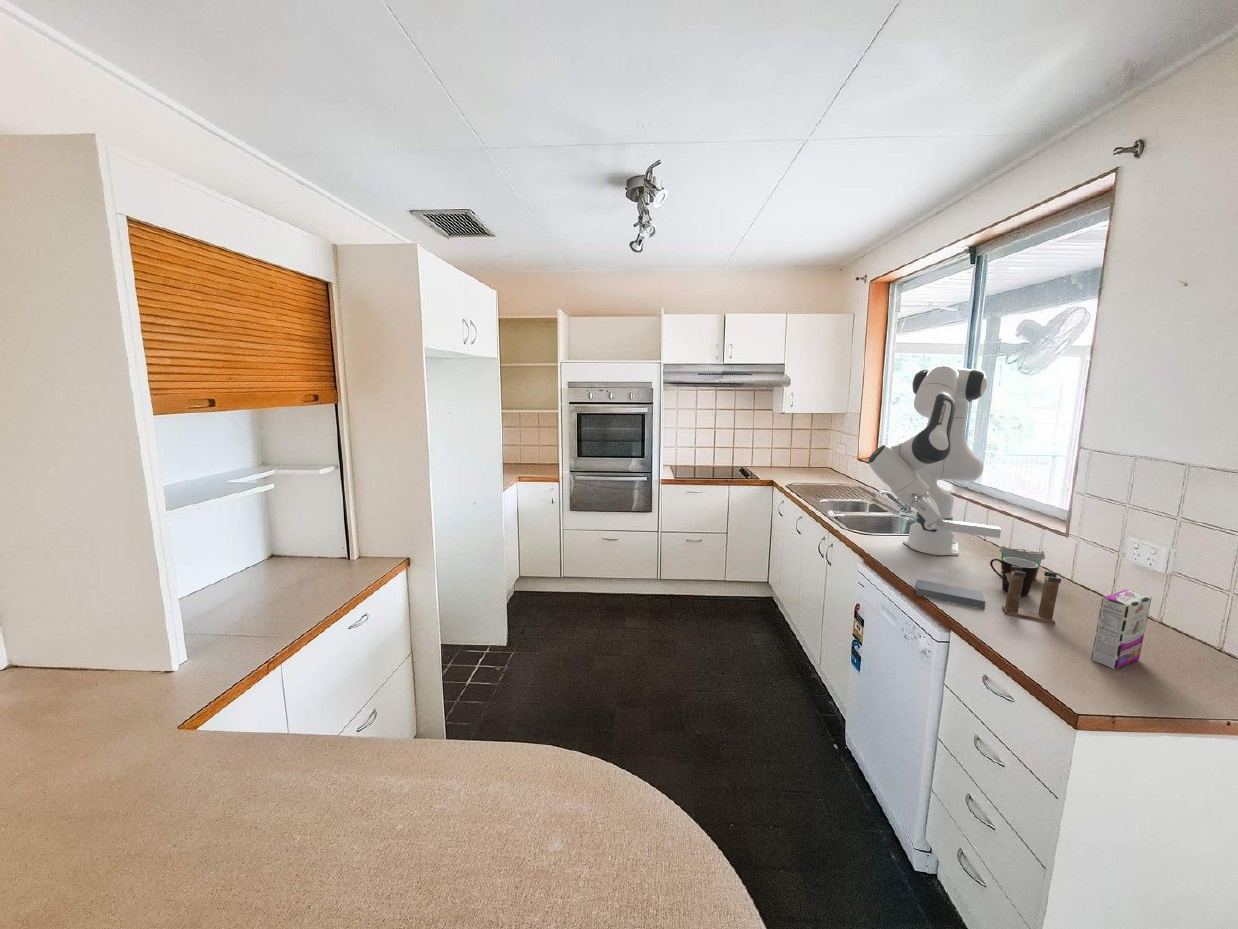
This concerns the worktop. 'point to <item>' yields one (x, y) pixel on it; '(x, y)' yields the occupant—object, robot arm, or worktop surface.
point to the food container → (1022, 556)
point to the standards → (1046, 599)
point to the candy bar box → (1120, 629)
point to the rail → (971, 528)
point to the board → (950, 593)
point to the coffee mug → (1007, 562)
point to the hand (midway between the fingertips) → (945, 527)
